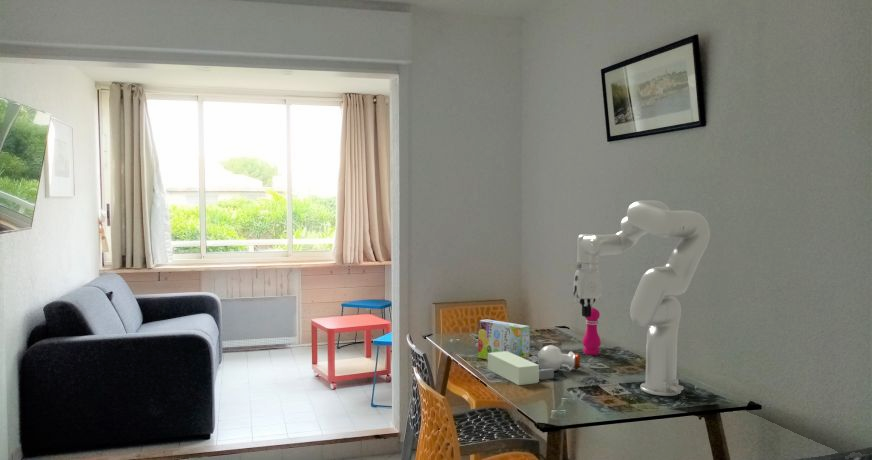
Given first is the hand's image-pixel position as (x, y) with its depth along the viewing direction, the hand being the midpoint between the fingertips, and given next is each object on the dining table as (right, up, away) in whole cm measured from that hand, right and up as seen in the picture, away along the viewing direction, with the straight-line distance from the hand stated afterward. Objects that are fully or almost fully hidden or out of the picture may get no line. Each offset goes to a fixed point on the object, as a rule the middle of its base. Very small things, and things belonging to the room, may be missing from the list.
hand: (586, 316), depth 237 cm
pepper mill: (+7, -18, +23) cm, 30 cm away
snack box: (-30, -19, +9) cm, 37 cm away
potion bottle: (-11, -20, -4) cm, 23 cm away
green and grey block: (-25, -19, -10) cm, 33 cm away
